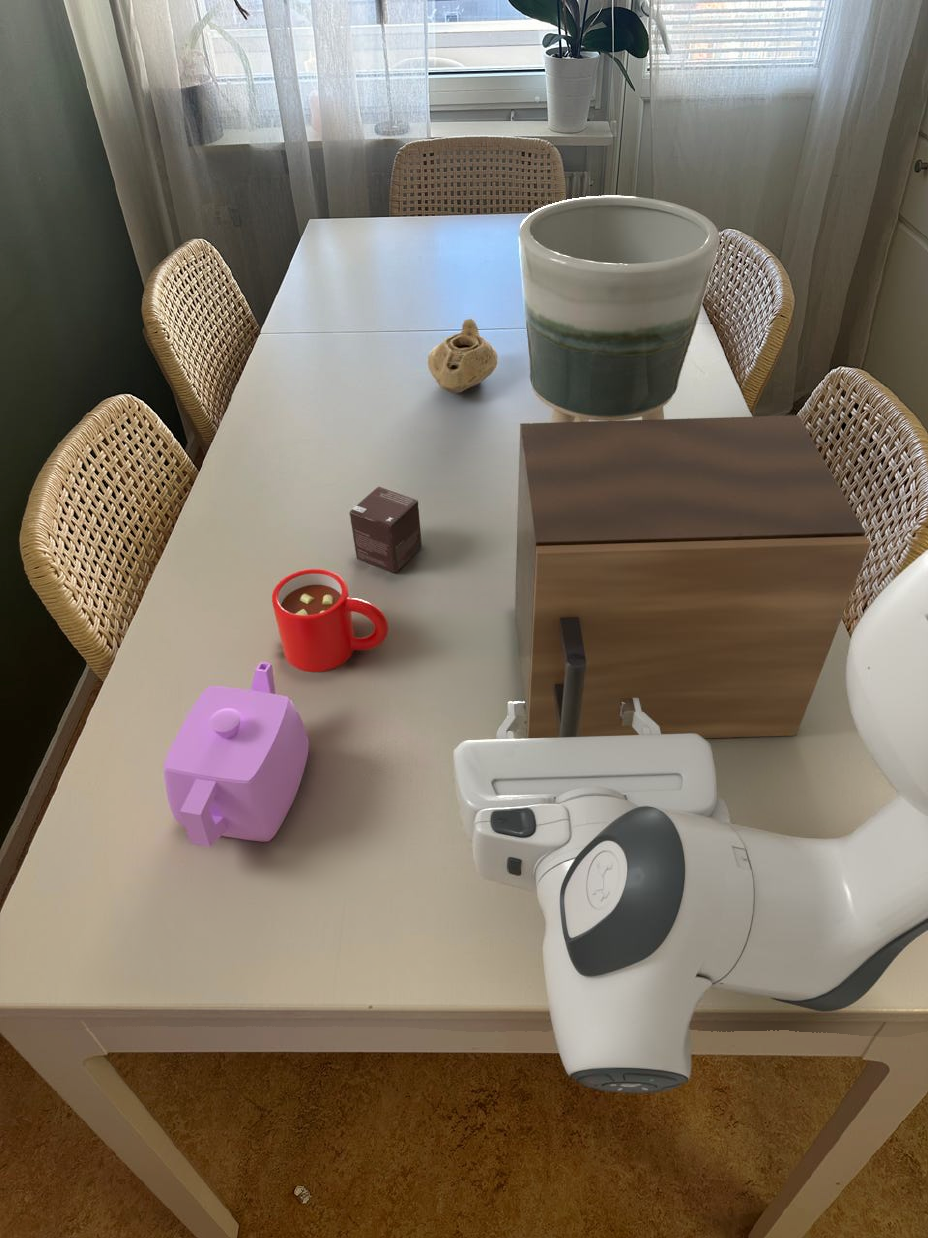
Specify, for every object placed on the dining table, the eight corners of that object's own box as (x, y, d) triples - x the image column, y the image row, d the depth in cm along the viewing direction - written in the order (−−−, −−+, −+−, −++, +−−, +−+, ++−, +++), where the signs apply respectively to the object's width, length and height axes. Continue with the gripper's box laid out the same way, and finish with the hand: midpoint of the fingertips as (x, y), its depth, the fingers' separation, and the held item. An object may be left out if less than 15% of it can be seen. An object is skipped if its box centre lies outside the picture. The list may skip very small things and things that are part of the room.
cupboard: (792, 726, 86) (866, 532, 69) (526, 734, 86) (535, 542, 69) (745, 603, 99) (798, 414, 82) (514, 610, 99) (520, 423, 82)
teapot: (233, 705, 89) (211, 635, 82) (330, 720, 88) (317, 649, 81) (154, 858, 77) (121, 791, 70) (267, 878, 75) (244, 811, 68)
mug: (384, 678, 92) (378, 624, 86) (275, 668, 93) (261, 615, 88) (398, 626, 97) (392, 573, 92) (294, 618, 99) (283, 565, 93)
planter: (708, 502, 113) (763, 243, 90) (564, 550, 107) (584, 283, 84) (617, 424, 127) (645, 183, 104) (485, 462, 121) (484, 214, 98)
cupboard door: (815, 784, 81) (899, 592, 64) (532, 793, 81) (543, 603, 64) (793, 727, 86) (866, 535, 69) (526, 736, 86) (536, 545, 69)
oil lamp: (426, 407, 132) (423, 359, 126) (430, 361, 143) (427, 314, 137) (498, 407, 132) (498, 358, 126) (496, 360, 143) (497, 313, 137)
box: (423, 548, 107) (420, 499, 102) (395, 575, 104) (390, 526, 99) (383, 532, 110) (378, 484, 105) (354, 558, 106) (348, 510, 101)
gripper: (746, 820, 61) (702, 674, 71) (453, 830, 60) (451, 682, 70) (729, 868, 65) (689, 724, 75) (456, 876, 65) (453, 731, 75)
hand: (572, 704), depth 73 cm, fingers open, 8 cm apart
